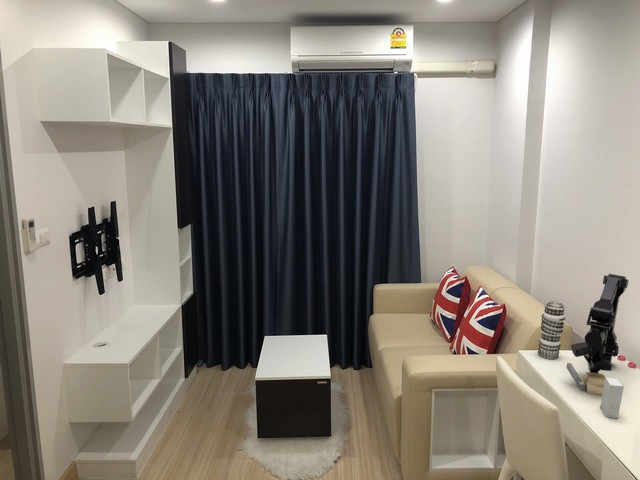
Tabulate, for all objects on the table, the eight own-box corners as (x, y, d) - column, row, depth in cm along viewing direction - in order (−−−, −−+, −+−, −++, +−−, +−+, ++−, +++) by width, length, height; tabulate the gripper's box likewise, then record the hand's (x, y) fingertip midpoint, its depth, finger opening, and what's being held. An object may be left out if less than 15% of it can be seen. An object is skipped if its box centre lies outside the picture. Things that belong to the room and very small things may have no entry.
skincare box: (618, 418, 181) (624, 386, 179) (605, 417, 182) (610, 385, 180) (612, 409, 187) (618, 378, 185) (599, 408, 188) (604, 377, 186)
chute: (563, 369, 218) (564, 361, 217) (594, 372, 216) (596, 365, 215) (577, 392, 199) (578, 384, 198) (611, 396, 196) (613, 388, 196)
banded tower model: (551, 352, 233) (559, 299, 228) (563, 362, 224) (571, 306, 219) (532, 353, 232) (539, 299, 226) (543, 362, 223) (551, 306, 217)
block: (583, 386, 201) (585, 372, 200) (600, 388, 200) (602, 373, 199) (587, 392, 196) (589, 378, 195) (604, 394, 195) (607, 380, 194)
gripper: (568, 327, 209) (563, 364, 212) (581, 346, 191) (575, 386, 194) (598, 330, 207) (592, 367, 210) (615, 349, 189) (608, 389, 192)
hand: (591, 377), depth 202 cm, fingers closed
